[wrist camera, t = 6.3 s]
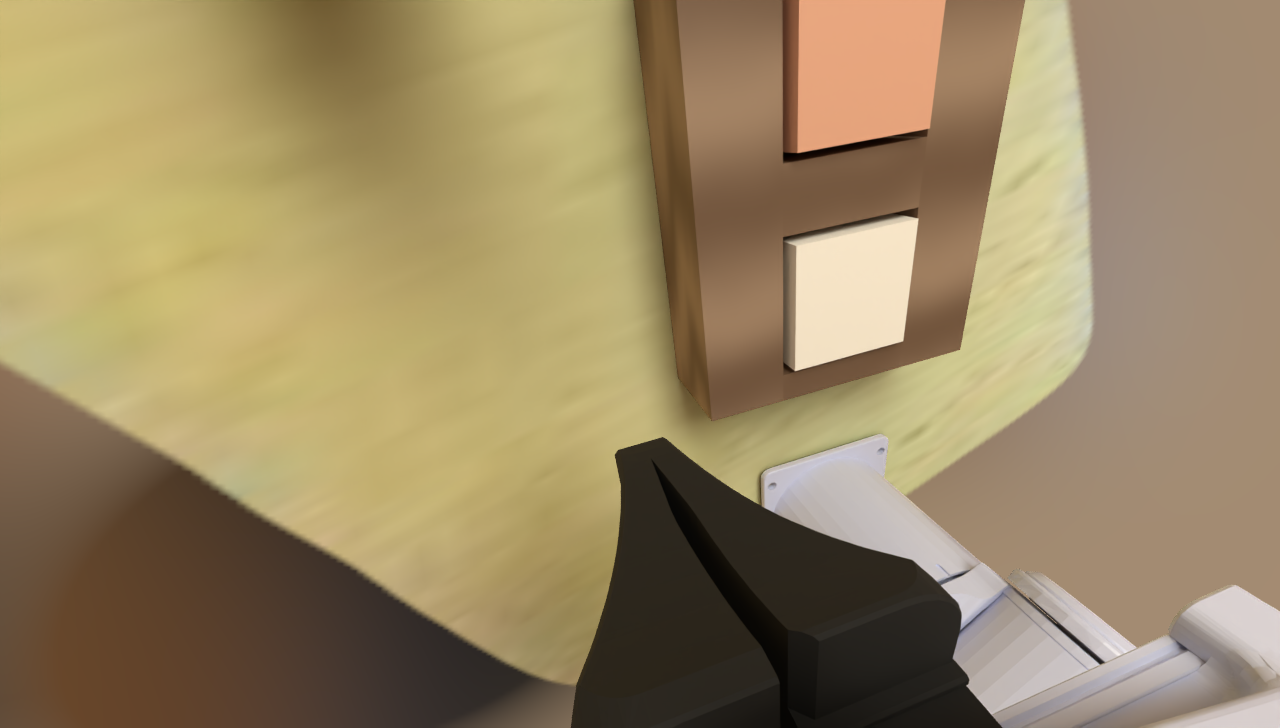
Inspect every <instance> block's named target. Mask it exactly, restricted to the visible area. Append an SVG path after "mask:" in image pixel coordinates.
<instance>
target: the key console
mask: <svg viewBox="0 0 1280 728" xmlns="http://www.w3.org/2000/svg"><path fill="white" fill-rule="evenodd" d="M1024 3H1025V0H946V2H945V10H944V18H943V26H942V34H941V42H940V50H939V58H938V66H937V74H936V82H935V90H934V99H933V107H932V115H931V123H930V129H924V130H919V131H914V132H908V133H903V134H897V135H892V136H887V137H881V138H876V139H871V140H865V141H860V142H854V143H849V144H844V145H838V146H833V147H828V148H822V149H817V150H811V151H806V152H801V153H788V152H783V37H782V0H634V7H635V15H636V24H637V32H638V41H639V49H640V58H641V66H642V75H643V83H644V92H645V100H646V109H647V117H648V126H649V134H650V143H651V151H652V160H653V168H654V177H655V185H656V194H657V202H658V211H659V219H660V228H661V236H662V245H663V253H664V262H665V270H666V279H667V287H668V296H669V304H670V313H671V321H672V330H673V338H674V347H675V355H676V364H677V372H678V378H679V379H680V381H681V382H682V383H683V385H684V386H685V387H686V388H687V390H688V391H689V392H690V394H691V395H692V396H693V397H694V399H695V400H696V401H697V403H698V404H699V405H700V406H701V408H702V409H703V410H704V412H705V413H706V414H707V415H708V417H709V418H710V419H711V421H714V420H718V419H721V418H725V417H728V416H732V415H735V414H739V413H742V412H745V411H749V410H752V409H756V408H759V407H763V406H766V405H770V404H773V403H777V402H780V401H784V400H787V399H791V398H794V397H798V396H801V395H805V394H808V393H811V392H815V391H818V390H822V389H825V388H829V387H832V386H836V385H839V384H843V383H846V382H850V381H853V380H857V379H860V378H864V377H867V376H871V375H874V374H877V373H881V372H884V371H888V370H891V369H895V368H898V367H902V366H905V365H909V364H912V363H916V362H919V361H923V360H926V359H930V358H933V357H937V356H940V355H943V354H947V353H950V352H954V351H957V350H960V347H961V342H962V336H963V331H964V325H965V320H966V315H967V309H968V304H969V299H970V293H971V288H972V282H973V277H974V272H975V266H976V261H977V256H978V250H979V245H980V239H981V234H982V229H983V223H984V218H985V213H986V207H987V202H988V196H989V191H990V186H991V180H992V175H993V170H994V164H995V159H996V153H997V148H998V143H999V137H1000V132H1001V127H1002V121H1003V116H1004V110H1005V105H1006V100H1007V94H1008V89H1009V84H1010V78H1011V73H1012V67H1013V62H1014V57H1015V51H1016V46H1017V41H1018V35H1019V30H1020V24H1021V19H1022V14H1023V8H1024ZM890 213H893V214H898V215H903V216H908V217H913V218H918V227H917V235H916V243H915V251H914V259H913V267H912V275H911V283H910V291H909V299H908V307H907V315H906V323H905V331H904V339H903V341H902V342H899V343H895V344H892V345H888V346H884V347H881V348H877V349H874V350H870V351H866V352H863V353H859V354H856V355H852V356H848V357H845V358H841V359H837V360H834V361H830V362H827V363H823V364H819V365H816V366H812V367H809V368H805V369H801V370H798V371H794V370H793V369H792V368H790V367H789V366H788V365H786V364H785V363H784V362H783V237H786V236H790V235H795V234H799V233H804V232H809V231H813V230H818V229H822V228H827V227H831V226H836V225H840V224H845V223H849V222H854V221H859V220H863V219H868V218H872V217H877V216H881V215H886V214H890Z"/></svg>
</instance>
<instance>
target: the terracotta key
mask: <svg viewBox="0 0 1280 728" xmlns="http://www.w3.org/2000/svg"><path fill="white" fill-rule="evenodd" d="M945 2H946V0H782V37H783V152H788V153H801V152H806V151H811V150H817V149H822V148H828V147H833V146H838V145H844V144H849V143H854V142H860V141H865V140H871V139H876V138H881V137H887V136H892V135H897V134H903V133H908V132H914V131H919V130H924V129H930V123H931V115H932V107H933V99H934V90H935V82H936V74H937V66H938V58H939V50H940V42H941V34H942V26H943V18H944V10H945Z"/></svg>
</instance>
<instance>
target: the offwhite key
mask: <svg viewBox="0 0 1280 728" xmlns="http://www.w3.org/2000/svg"><path fill="white" fill-rule="evenodd" d="M917 227H918V218H913V217H908V216H903V215H898V214H893V213H890V214H886V215H881V216H877V217H872V218H868V219H863V220H859V221H854V222H849V223H845V224H840V225H836V226H831V227H827V228H822V229H818V230H813V231H809V232H804V233H799V234H795V235H790V236H786V237H783V362H784V363H785V364H786V365H788V366H789V367H790V368H792V369H793V370H794V371H798V370H801V369H805V368H809V367H812V366H816V365H819V364H823V363H827V362H830V361H834V360H837V359H841V358H845V357H848V356H852V355H856V354H859V353H863V352H866V351H870V350H874V349H877V348H881V347H884V346H888V345H892V344H895V343H899V342H902V341H903V339H904V331H905V323H906V315H907V307H908V299H909V291H910V283H911V275H912V267H913V259H914V251H915V243H916V235H917Z"/></svg>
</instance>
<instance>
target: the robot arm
mask: <svg viewBox="0 0 1280 728" xmlns="http://www.w3.org/2000/svg"><path fill="white" fill-rule="evenodd" d="M887 449H888V438H887V437H886V436H884V435H883V434H877V435H874V436H871V437H868V438H865V439H861V440H858V441H855V442H852V443H849V444H846V445H842V446H839V447H836V448H833V449H830V450H826V451H823V452H820V453H817V454H814V455H811V456H807V457H804V458H801V459H798V460H795V461H792V462H788V463H785V464H782V465H779V466H776V467H772V468H769V469H767V470H765V471H764V472H763V474H762V475H761V499H762V506H760V505H758V504H757V503H755V502H753V501H751V500H750V499H748V498H746V497H744V496H743V495H741V494H740V493H738V492H736V491H735V490H733V489H732V488H730V487H729V486H727V485H726V484H724V483H723V482H721V481H720V480H718V479H717V478H715V477H714V476H712V475H711V474H710V473H708V472H707V471H705V470H704V469H703V468H701V467H700V466H699V465H697V464H696V463H695V462H693V461H692V460H691V459H690V458H688V457H687V456H686V455H685V454H683V453H682V452H681V451H680V450H679V449H677V448H676V447H675V446H674V445H673V444H671V443H670V442H669V441H668V440H667V439H665V438H663V437H662V438H658V439H655V440H651V441H648V442H644V443H641V444H638V445H634V446H631V447H627V448H624V449H620V450H618V451H617V452H616V454H615V459H616V464H617V468H618V473H619V478H620V483H621V514H620V527H619V537H618V545H617V551H616V557H615V563H614V568H613V573H612V577H611V582H610V586H609V591H608V595H607V599H606V602H605V606H604V609H603V612H602V616H601V619H600V622H599V625H598V628H597V632H596V635H595V638H594V641H593V644H592V646H591V649H590V652H589V654H588V657H587V659H586V662H585V664H584V667H583V669H582V672H581V675H580V677H579V680H578V682H577V685H576V693H575V700H574V708H573V715H572V724H571V728H1280V611H1278V610H1276V609H1275V608H1273V607H1271V606H1270V605H1268V604H1266V603H1265V602H1263V601H1261V600H1260V599H1258V598H1256V597H1255V596H1253V595H1252V594H1250V593H1248V592H1246V591H1245V590H1243V589H1242V588H1240V587H1238V586H1237V585H1228V586H1225V587H1223V588H1221V589H1219V590H1217V591H1214V592H1212V593H1210V594H1208V595H1205V596H1203V597H1201V598H1199V599H1196V600H1194V601H1192V602H1191V603H1189V604H1188V605H1186V606H1185V607H1184V608H1182V610H1180V611H1179V612H1178V613H1177V615H1176V616H1175V617H1174V619H1173V621H1172V623H1171V625H1170V627H1169V633H1168V634H1166V635H1164V636H1162V637H1160V638H1157V639H1155V640H1153V641H1151V642H1149V643H1146V644H1144V645H1142V646H1140V647H1138V648H1136V647H1135V646H1134V645H1133V644H1132V643H1130V642H1129V641H1128V640H1127V639H1125V638H1124V637H1123V636H1122V635H1120V634H1119V633H1118V632H1117V631H1115V630H1114V629H1113V628H1112V627H1110V626H1109V625H1108V624H1107V623H1105V622H1104V621H1103V620H1102V619H1100V618H1099V617H1098V616H1097V615H1095V614H1094V613H1093V612H1092V611H1090V610H1089V609H1088V608H1087V607H1085V606H1084V605H1083V604H1081V603H1080V602H1079V601H1078V600H1076V599H1075V598H1074V597H1072V596H1071V595H1070V594H1069V593H1067V592H1066V591H1065V590H1063V589H1062V588H1061V587H1059V586H1058V585H1057V584H1056V583H1054V582H1053V581H1052V580H1050V579H1049V578H1047V577H1046V576H1045V575H1044V574H1042V573H1040V572H1030V571H1027V572H1023V571H1022V570H1020V569H1015V570H1013V572H1012V573H1011V574H1010V575H1009V576H1008V579H1010V580H1011V581H1012V582H1013V583H1014V584H1015V585H1016V586H1017V587H1019V588H1020V589H1021V590H1022V591H1023V592H1025V594H1027V595H1028V596H1029V599H1030V600H1031V601H1032V602H1034V603H1035V604H1036V605H1037V606H1038V607H1039V608H1040V609H1041V610H1043V611H1044V612H1045V613H1046V614H1047V615H1048V616H1049V617H1051V618H1052V619H1053V620H1054V621H1055V622H1056V623H1057V624H1056V623H1055V622H1054V621H1053V620H1052V619H1050V618H1049V617H1048V616H1047V615H1046V614H1044V613H1043V612H1042V611H1041V610H1040V609H1039V608H1038V607H1037V606H1035V605H1034V604H1033V603H1032V602H1030V600H1028V599H1027V598H1026V597H1025V596H1024V595H1023V594H1021V593H1020V592H1019V591H1018V590H1017V589H1015V588H1014V587H1013V586H1012V585H1010V584H1009V583H1008V582H1007V581H1005V580H1004V579H1003V578H1001V577H1000V576H999V575H998V574H997V573H995V572H994V571H993V570H992V569H990V568H989V567H988V566H987V565H985V564H984V563H981V562H980V561H979V560H978V559H977V558H976V557H974V556H973V555H972V554H971V553H970V552H969V551H968V550H966V549H965V548H964V547H963V546H962V545H961V544H960V543H958V542H957V541H956V540H955V539H954V538H953V537H951V536H950V535H949V534H948V533H947V532H946V531H945V530H943V529H942V528H941V527H940V526H939V525H938V524H936V523H935V522H934V521H933V520H932V519H931V518H930V517H929V516H927V515H926V514H925V513H924V512H923V511H922V510H920V509H919V508H918V507H917V506H916V505H915V504H914V503H912V502H911V501H910V500H909V499H908V498H907V497H906V496H904V495H903V494H902V493H901V492H900V491H899V490H898V489H896V488H895V487H894V486H893V485H892V484H891V483H889V482H888V481H887V480H886V479H885V478H884V474H885V465H886V457H887ZM771 483H772V484H771ZM770 484H771V485H770Z"/></svg>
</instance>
